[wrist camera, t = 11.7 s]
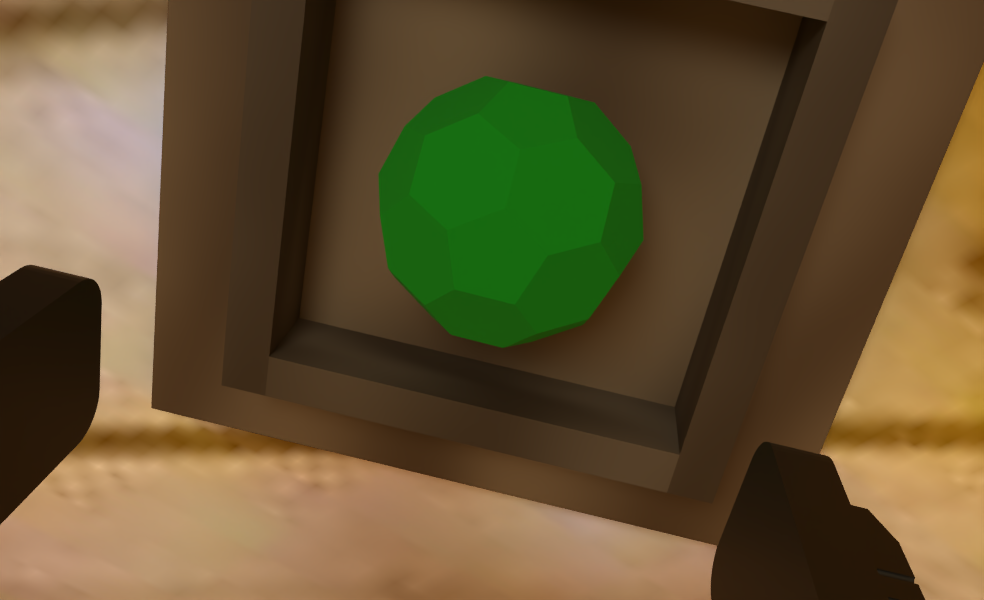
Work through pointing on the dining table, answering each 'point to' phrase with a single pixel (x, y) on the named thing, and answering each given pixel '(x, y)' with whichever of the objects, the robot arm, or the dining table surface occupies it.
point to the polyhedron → (509, 210)
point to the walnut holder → (636, 293)
